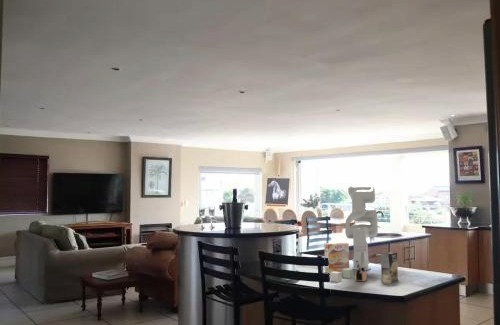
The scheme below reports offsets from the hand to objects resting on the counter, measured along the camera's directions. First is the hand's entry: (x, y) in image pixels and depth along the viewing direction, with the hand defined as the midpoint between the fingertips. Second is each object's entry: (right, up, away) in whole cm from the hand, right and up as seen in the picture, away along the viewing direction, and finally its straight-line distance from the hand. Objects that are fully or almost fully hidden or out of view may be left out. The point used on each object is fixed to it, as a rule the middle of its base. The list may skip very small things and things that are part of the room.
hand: (361, 278), depth 255 cm
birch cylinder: (+13, 0, -8) cm, 15 cm away
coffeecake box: (-8, -4, +28) cm, 30 cm away
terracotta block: (0, -1, 0) cm, 1 cm away
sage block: (-5, -3, +13) cm, 14 cm away
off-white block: (-15, -2, +2) cm, 15 cm away
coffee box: (+18, -1, +2) cm, 18 cm away
